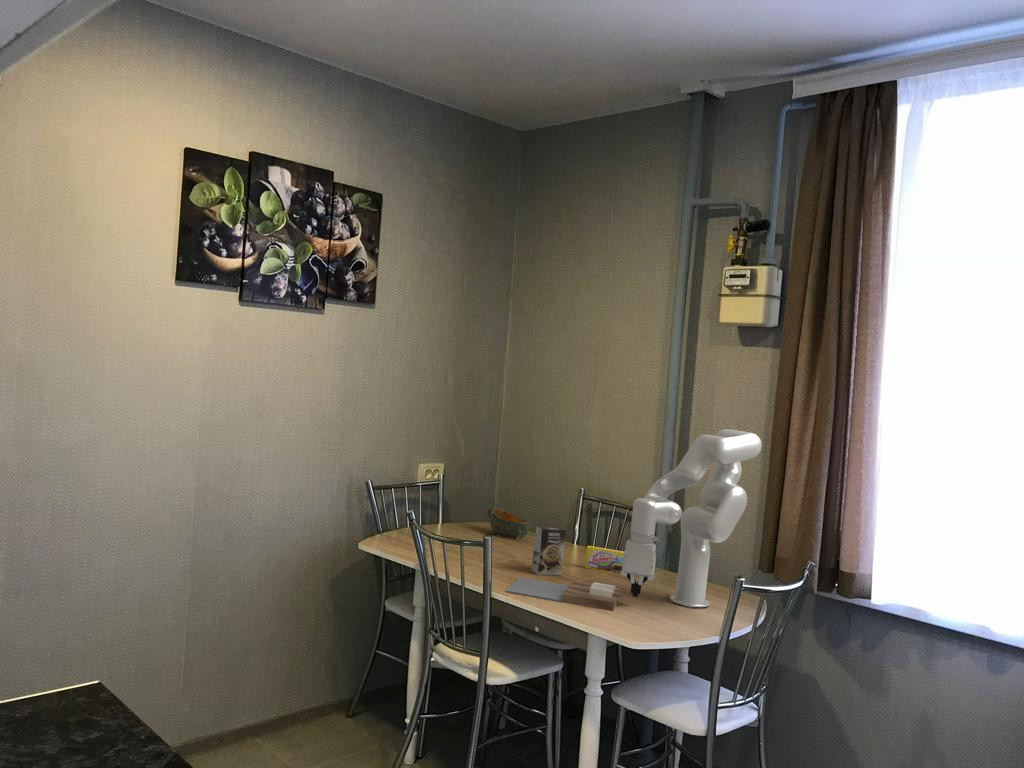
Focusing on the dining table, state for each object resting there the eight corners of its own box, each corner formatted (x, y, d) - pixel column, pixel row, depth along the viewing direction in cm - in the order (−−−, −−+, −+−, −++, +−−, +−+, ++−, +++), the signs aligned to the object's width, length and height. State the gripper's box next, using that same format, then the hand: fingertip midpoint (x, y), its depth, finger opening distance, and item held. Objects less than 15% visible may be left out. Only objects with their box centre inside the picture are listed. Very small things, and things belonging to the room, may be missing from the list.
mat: (520, 579, 281) (520, 577, 281) (572, 588, 277) (572, 586, 277) (506, 592, 263) (506, 590, 263) (561, 602, 258) (562, 600, 258)
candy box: (584, 568, 308) (586, 546, 307) (585, 567, 310) (587, 545, 309) (628, 575, 304) (630, 553, 304) (628, 574, 306) (631, 552, 306)
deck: (572, 588, 276) (573, 580, 276) (620, 596, 272) (621, 589, 272) (562, 601, 259) (563, 593, 259) (613, 610, 255) (614, 602, 255)
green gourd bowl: (510, 530, 363) (513, 507, 363) (530, 542, 345) (533, 517, 344) (483, 530, 358) (486, 507, 357) (502, 542, 339) (504, 517, 339)
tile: (593, 588, 270) (593, 582, 270) (614, 591, 268) (615, 585, 268) (589, 594, 262) (590, 587, 262) (611, 597, 260) (612, 591, 260)
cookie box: (538, 575, 289) (543, 529, 289) (530, 570, 295) (535, 525, 295) (561, 575, 293) (566, 530, 292) (554, 570, 299) (559, 526, 298)
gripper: (666, 539, 264) (659, 597, 264) (619, 532, 267) (613, 589, 268) (665, 544, 257) (658, 603, 257) (616, 536, 260) (610, 594, 260)
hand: (635, 595), depth 262 cm, fingers closed
